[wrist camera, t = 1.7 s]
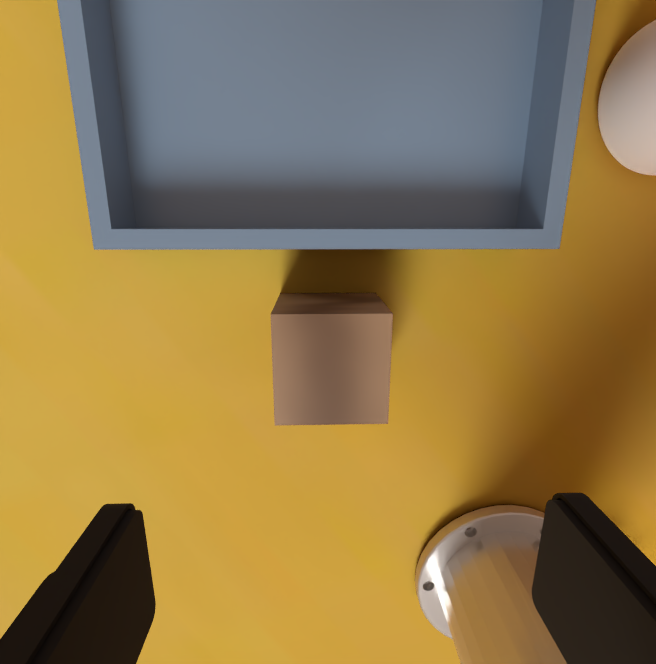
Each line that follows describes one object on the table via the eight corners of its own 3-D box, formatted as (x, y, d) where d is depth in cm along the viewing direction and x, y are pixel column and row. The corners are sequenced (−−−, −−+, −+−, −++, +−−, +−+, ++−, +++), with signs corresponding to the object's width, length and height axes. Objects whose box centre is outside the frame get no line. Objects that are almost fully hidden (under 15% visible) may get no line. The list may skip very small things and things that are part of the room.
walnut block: (375, 292, 26) (392, 313, 20) (372, 380, 28) (388, 423, 22) (280, 293, 26) (270, 314, 20) (283, 381, 27) (274, 425, 22)
